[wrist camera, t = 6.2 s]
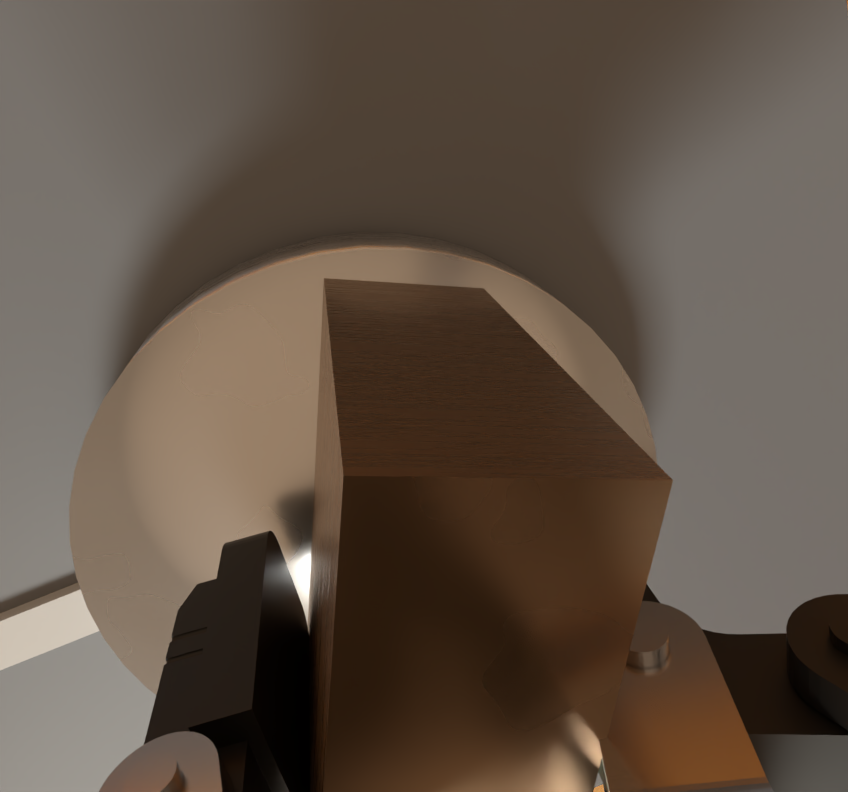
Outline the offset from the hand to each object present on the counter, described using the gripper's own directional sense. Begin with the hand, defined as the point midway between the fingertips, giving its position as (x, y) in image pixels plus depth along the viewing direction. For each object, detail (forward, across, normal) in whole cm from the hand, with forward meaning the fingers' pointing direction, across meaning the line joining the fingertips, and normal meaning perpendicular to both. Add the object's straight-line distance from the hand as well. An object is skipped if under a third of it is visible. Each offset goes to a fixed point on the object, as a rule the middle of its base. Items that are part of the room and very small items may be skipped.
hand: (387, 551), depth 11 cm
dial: (+2, +1, +3) cm, 4 cm away
